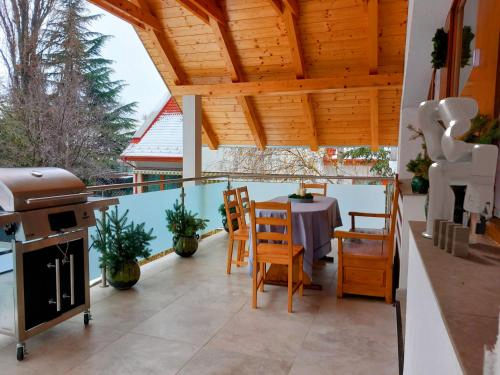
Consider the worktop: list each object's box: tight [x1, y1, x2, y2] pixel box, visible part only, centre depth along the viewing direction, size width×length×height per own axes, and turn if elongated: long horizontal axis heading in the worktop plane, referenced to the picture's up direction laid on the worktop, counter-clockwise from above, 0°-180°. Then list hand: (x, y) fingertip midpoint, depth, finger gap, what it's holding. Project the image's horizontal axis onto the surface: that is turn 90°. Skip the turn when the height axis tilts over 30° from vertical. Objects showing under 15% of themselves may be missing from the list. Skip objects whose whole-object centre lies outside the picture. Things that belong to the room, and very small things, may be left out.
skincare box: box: [461, 211, 476, 245], centre depth 150 cm, size 6×4×12 cm
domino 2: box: [437, 220, 456, 250], centre depth 139 cm, size 2×5×10 cm, turn 89°
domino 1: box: [431, 219, 448, 246], centre depth 144 cm, size 2×5×10 cm, turn 89°
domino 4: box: [451, 226, 470, 258], centre depth 129 cm, size 2×5×10 cm, turn 89°
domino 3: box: [444, 223, 463, 253], centre depth 134 cm, size 2×5×10 cm, turn 89°
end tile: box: [469, 213, 483, 244], centre depth 132 cm, size 2×5×10 cm, turn 179°
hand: (475, 231), depth 133 cm, fingers closed on end tile, 4 cm apart
